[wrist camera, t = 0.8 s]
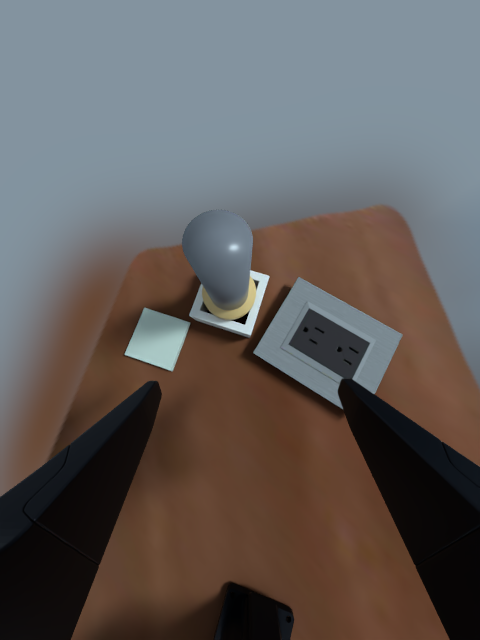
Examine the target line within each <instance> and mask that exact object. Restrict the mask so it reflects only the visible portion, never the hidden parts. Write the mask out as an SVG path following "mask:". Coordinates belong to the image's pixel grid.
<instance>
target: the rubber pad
mask: <svg viewBox="0 0 480 640" xmlns="http://www.w3.org/2000/svg"><path fill="white" fill-rule="evenodd" d="M190 324H191V323H190V322H187V321H184V320H181V319H178V318H175V317H172V316H169V315H166V314H162V313H159V312H156V311H153V310H150V309H147V308H144V310H143V313H142V315H141V317H140V320H139V322H138V324H137V327H136V329H135V331H134V334H133V336H132V338H131V341H130V343H129V345H128V348H127V350H126V352H125V355H127V356H130V357H133V358H136V359H139V360H142V361H144V362H147V363H150V364H153V365H156V366H159V367H162V368H164V369H167V370H170V371H173V369H174V366H175V364H176V361H177V358H178V356H179V353H180V350H181V348H182V345H183V343H184V340H185V337H186V335H187V332H188V329H189V327H190Z"/></svg>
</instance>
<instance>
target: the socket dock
mask: <svg viewBox="0 0 480 640" xmlns="http://www.w3.org/2000/svg"><path fill="white" fill-rule="evenodd" d="M250 276H251V277H252V279H253V281H254V283H255V286H256V298H255V302H254V305H253V307H252V308H251V310H250V312H249V315H248V318H247V321H246V324H245V325H244V324H241V323H238V322H235V321H231V320H224V319H220V318H218V317H216V316H215V315H213V314H209V313H207V310H208V308H207V307H206V305H205V304H204V301H203V298H202V288H203V285H202V283H201V286H200V288H199V291H198V293H197V296H196V299H195V301H194V304H193V307H192V309H191V312H190V314H189V316H190V317H192V318H193V319H195V320H196V321H199V322H202V323H205V324H208V325H211V326H215V327H218V328H221V329H224V330H227V331H230V332H233V333H236V334H239V335H242V336H245V337H248V338H250V336H251V333H252V330H253V327H254V324H255V320H256V317H257V314H258V311H259V308H260V305H261V301H262V298H263V295H264V292H265V289H266V286H267V282H268V279H269V276H267V275H264V274H261V273H257V272H254V271H251V270H250Z"/></svg>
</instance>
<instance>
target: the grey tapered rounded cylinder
mask: <svg viewBox="0 0 480 640" xmlns="http://www.w3.org/2000/svg"><path fill="white" fill-rule="evenodd" d="M252 244H253V238H252V233H251V230H250V228H249V226H248V225H247V223H246V222H245V221H244V220H243V219H242V218H241V217H240V216H238V215H237V214H235V213H233V212H229V211H226V210H211V211H208V212H205V213H202V214H200V215H198V216H197V217H195V218H194V219H193V220H192V221H191V222H190V223H189V224H188V226H187V228H186V229H185V232H184V234H183V239H182V247H183V251H184V254H185V256H186V258H187V260H188V261H189V263H190V265H191V266H192V268H193V270H194V271H195V273H196V275H197V277H198V278H199V280H200V282H201V283H202V285H203V288H202V298H203V301H204V304H205V305H206V307H207V308H208V310H209V311H210V312H211V313H212V314H213V315H215V316H216V317H218V318H220V319H224V320H235V319H238V318H241V317H243V316H244V315H246V314H247V313H248V312H249V311H250V310H251V308H252V307H253V305H254V302H255V298H256V286H255V283H254V281H253V279H252V277H251V276H250V268H251V256H252Z"/></svg>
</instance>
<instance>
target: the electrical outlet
mask: <svg viewBox="0 0 480 640" xmlns="http://www.w3.org/2000/svg"><path fill="white" fill-rule="evenodd" d="M401 337H402V334H400V333H399V332H397V331H395V330H393V329H391V328H390V327H388V326H386V325H384V324H382V323H381V322H379V321H377V320H375V319H373V318H372V317H370V316H368V315H366V314H365V313H363V312H361V311H359V310H357V309H356V308H354V307H352V306H350V305H348V304H347V303H345V302H343V301H341V300H339V299H338V298H336V297H334V296H332V295H330V294H329V293H327V292H325V291H323V290H321V289H320V288H318V287H316V286H314V285H312V284H311V283H309V282H307V281H305V280H303V279H302V278H300V277H298V279H297V281H296V282H295V284H294V286H293V287H292V289H291V291H290V292H289V294H288V296H287V297H286V299H285V301H284V302H283V304H282V306H281V307H280V309H279V310H278V312H277V314H276V315H275V317H274V319H273V320H272V322H271V324H270V325H269V327H268V329H267V330H266V332H265V334H264V335H263V337H262V339H261V340H260V342H259V344H258V345H257V347H256V349H255V350H254V352H253V353H254V354H255V355H257V356H259V357H260V358H262V359H263V360H265V361H267V362H268V363H270V364H271V365H273V366H275V367H276V368H278V369H279V370H281V371H283V372H284V373H286V374H287V375H289V376H291V377H292V378H294V379H295V380H297V381H298V382H300V383H302V384H303V385H305V386H306V387H308V388H310V389H311V390H313V391H314V392H316V393H318V394H319V395H321V396H322V397H324V398H326V399H327V400H329V401H330V402H332V403H333V404H335V405H337V406H338V407H340V408H341V409H343V407H342V404H341V402H340V399H339V396H338V387H339V384H340V381H341V379H343V378H351V379H353V380H354V381H356V382H357V383H359V384H360V385H362V386H363V387H364V388H366V389H367V390H369V391H370V392H372V393H373V394H375V392H376V390H377V388H378V386H379V384H380V382H381V379H382V377H383V375H384V373H385V371H386V369H387V367H388V365H389V363H390V360H391V358H392V356H393V354H394V352H395V350H396V348H397V346H398V344H399V341H400V339H401Z"/></svg>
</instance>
